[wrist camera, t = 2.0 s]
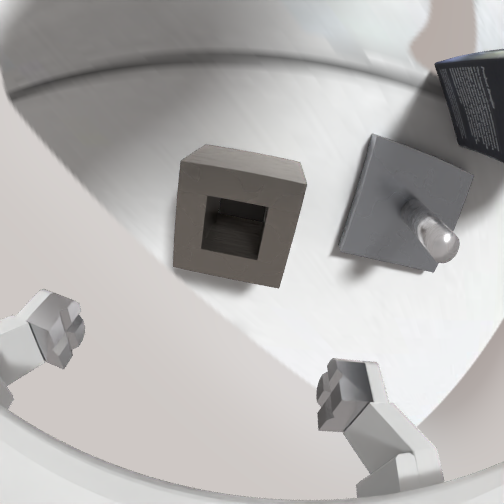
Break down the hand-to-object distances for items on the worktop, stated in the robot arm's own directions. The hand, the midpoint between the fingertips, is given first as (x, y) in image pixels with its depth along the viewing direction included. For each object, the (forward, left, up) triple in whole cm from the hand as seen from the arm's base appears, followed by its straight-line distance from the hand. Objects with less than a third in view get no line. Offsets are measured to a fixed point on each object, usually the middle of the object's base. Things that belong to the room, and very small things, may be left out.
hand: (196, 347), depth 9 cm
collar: (0, 0, -13) cm, 13 cm away
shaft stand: (-2, +11, -13) cm, 17 cm away
